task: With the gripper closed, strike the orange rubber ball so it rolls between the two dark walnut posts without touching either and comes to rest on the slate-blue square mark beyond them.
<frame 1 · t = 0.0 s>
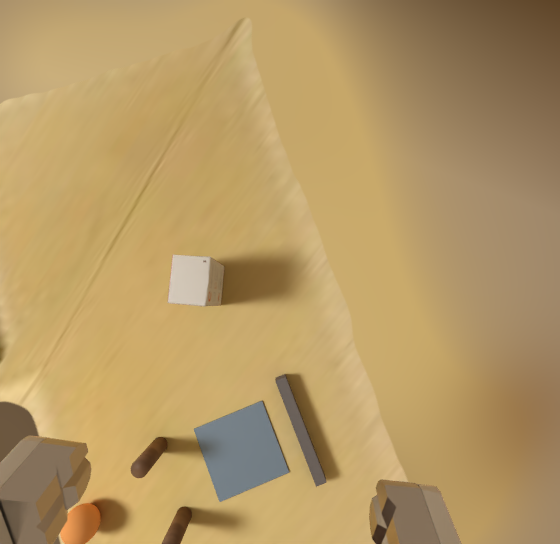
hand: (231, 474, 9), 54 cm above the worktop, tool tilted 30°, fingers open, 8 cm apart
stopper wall: (299, 425, 61), on the worktop
post 2: (184, 514, 59), on the worktop
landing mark: (241, 450, 61), on the worktop
small box: (207, 284, 64), on the worktop
ball: (81, 524, 56), on the worktop
post 1: (160, 444, 61), on the worktop
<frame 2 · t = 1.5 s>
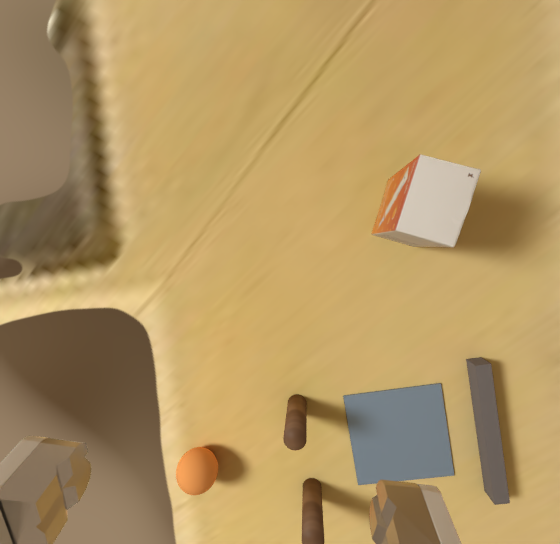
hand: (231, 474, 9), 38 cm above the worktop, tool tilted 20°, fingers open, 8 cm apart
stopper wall: (482, 425, 46), on the worktop
post 2: (311, 486, 49), on the worktop
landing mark: (398, 434, 47), on the worktop
small box: (399, 213, 45), on the worktop
ball: (197, 470, 47), on the worktop
post 1: (297, 403, 48), on the worktop
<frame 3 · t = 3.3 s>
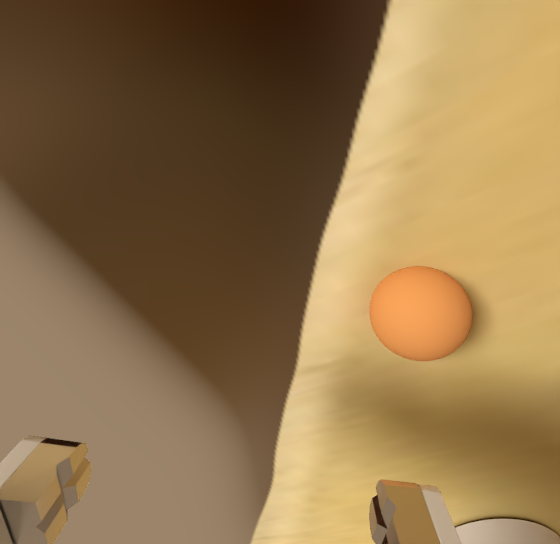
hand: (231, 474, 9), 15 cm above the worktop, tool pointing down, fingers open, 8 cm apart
ball: (417, 312, 20), on the worktop
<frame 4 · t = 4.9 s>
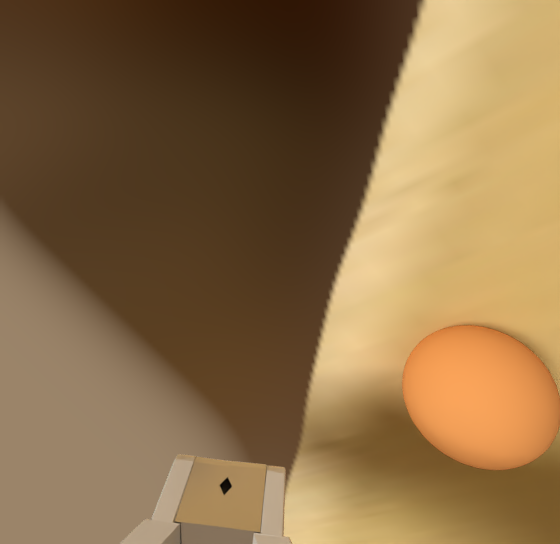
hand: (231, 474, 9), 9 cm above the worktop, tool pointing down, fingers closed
ball: (473, 392, 14), on the worktop
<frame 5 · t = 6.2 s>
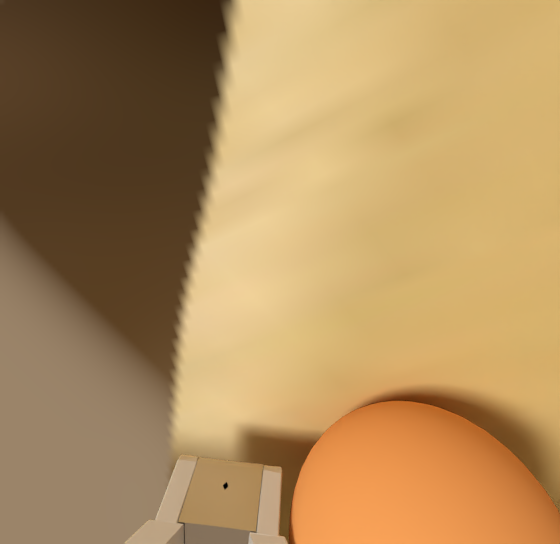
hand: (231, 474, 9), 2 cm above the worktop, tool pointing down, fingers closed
ball: (416, 538, 7), on the worktop, touching gripper
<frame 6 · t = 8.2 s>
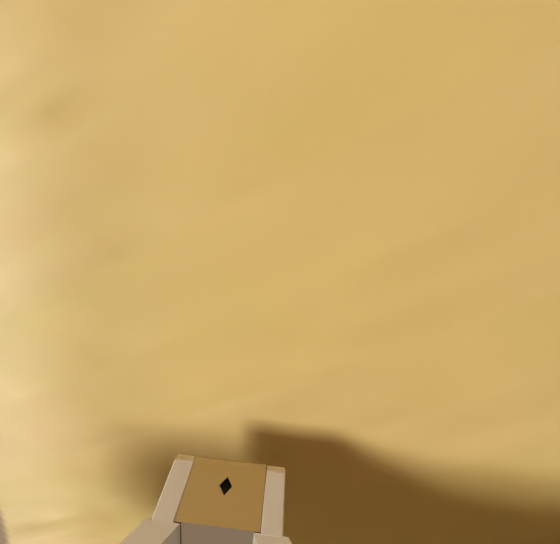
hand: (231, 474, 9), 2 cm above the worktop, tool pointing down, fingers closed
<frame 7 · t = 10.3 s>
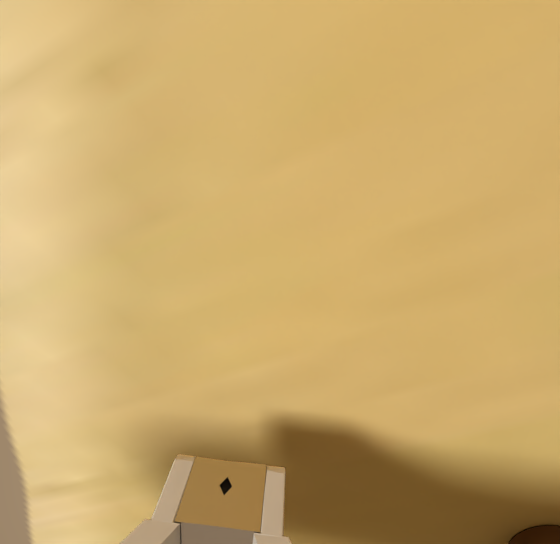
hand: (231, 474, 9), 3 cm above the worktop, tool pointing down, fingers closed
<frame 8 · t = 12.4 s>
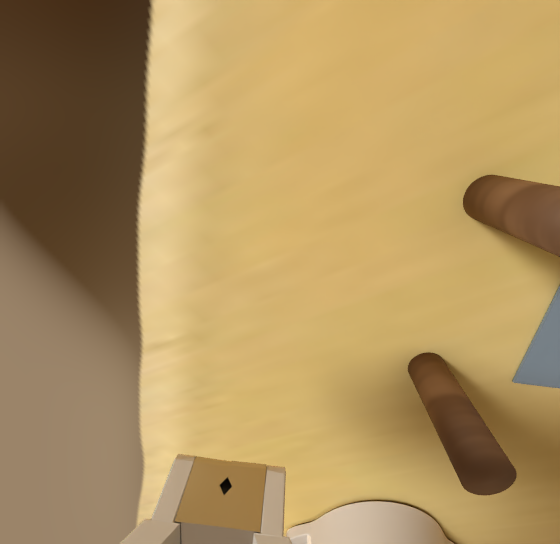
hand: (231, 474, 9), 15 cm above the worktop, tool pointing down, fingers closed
post 2: (426, 367, 25), on the worktop
post 1: (486, 197, 20), on the worktop
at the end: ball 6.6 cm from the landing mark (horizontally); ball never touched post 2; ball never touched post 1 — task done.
